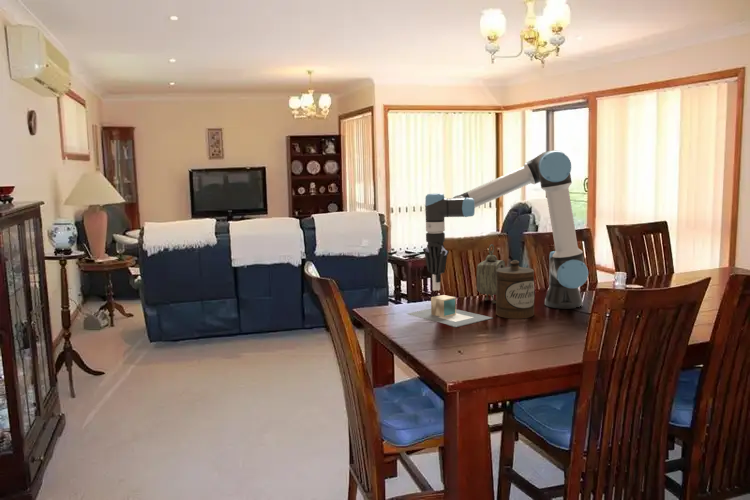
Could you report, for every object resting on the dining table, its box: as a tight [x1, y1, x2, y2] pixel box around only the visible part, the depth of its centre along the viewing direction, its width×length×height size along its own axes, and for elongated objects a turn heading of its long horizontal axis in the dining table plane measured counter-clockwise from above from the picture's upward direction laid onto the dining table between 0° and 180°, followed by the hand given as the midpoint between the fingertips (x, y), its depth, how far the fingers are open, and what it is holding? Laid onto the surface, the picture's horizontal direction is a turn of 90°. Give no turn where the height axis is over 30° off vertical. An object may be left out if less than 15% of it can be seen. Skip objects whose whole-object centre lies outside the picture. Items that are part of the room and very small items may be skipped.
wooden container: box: [495, 259, 535, 320], centre depth 259 cm, size 15×15×22 cm
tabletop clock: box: [476, 243, 506, 304], centre depth 285 cm, size 14×9×25 cm, turn 154°
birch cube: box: [430, 294, 457, 317], centre depth 263 cm, size 7×7×7 cm
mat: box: [407, 308, 493, 328], centre depth 261 cm, size 29×20×1 cm
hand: (436, 289), depth 265 cm, fingers closed
